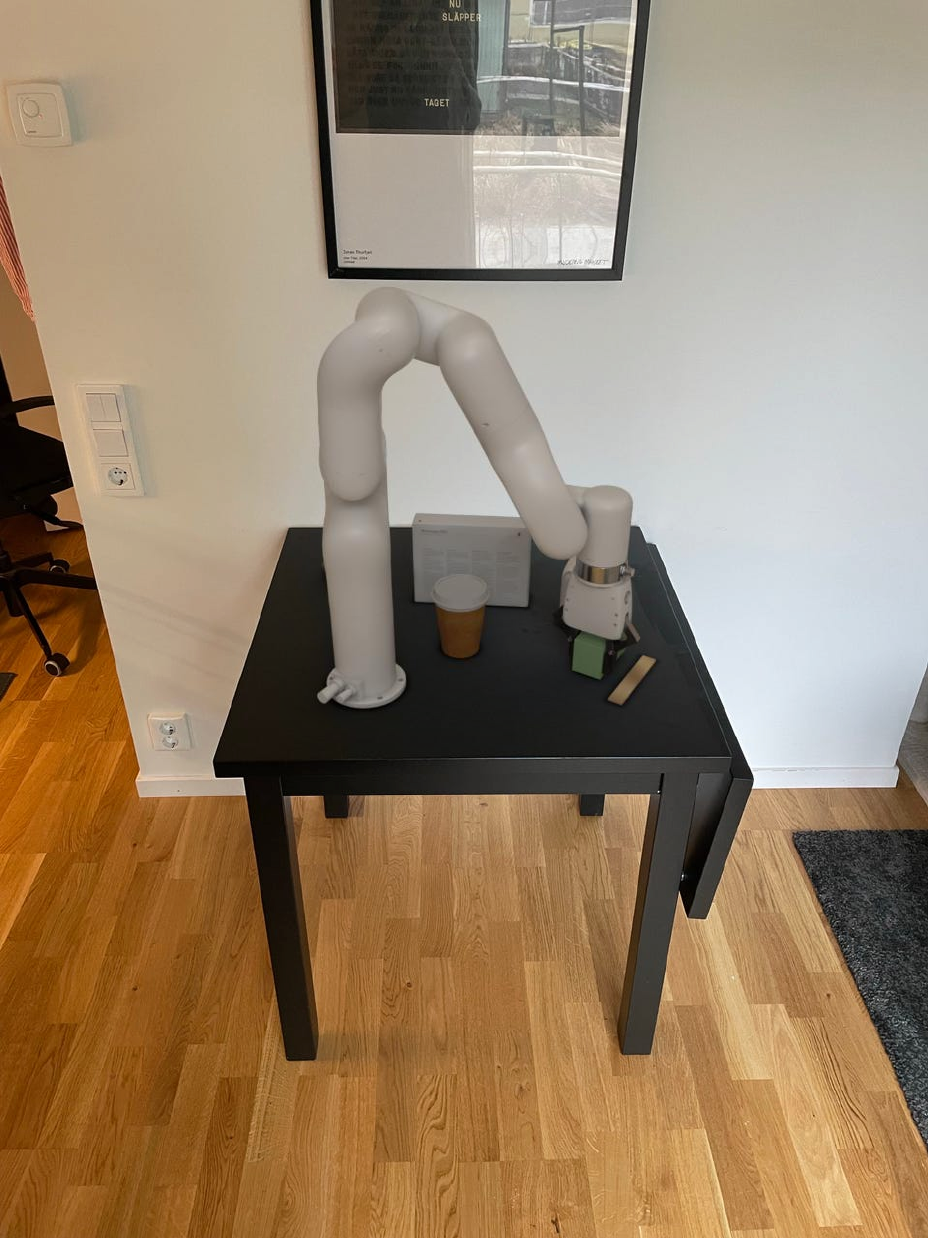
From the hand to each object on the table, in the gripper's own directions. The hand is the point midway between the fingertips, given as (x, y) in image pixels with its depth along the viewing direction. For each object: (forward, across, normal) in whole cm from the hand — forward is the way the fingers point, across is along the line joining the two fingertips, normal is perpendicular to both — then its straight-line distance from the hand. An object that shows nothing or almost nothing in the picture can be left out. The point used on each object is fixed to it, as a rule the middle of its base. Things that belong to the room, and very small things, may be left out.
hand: (591, 663), depth 146 cm
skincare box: (+2, +29, -10) cm, 31 cm away
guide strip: (+2, -6, -2) cm, 7 cm away
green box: (+1, 0, -3) cm, 3 cm away
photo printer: (+2, +10, -15) cm, 18 cm away
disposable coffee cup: (+2, +22, +5) cm, 23 cm away
